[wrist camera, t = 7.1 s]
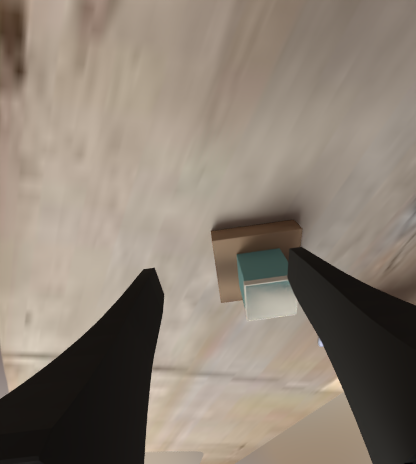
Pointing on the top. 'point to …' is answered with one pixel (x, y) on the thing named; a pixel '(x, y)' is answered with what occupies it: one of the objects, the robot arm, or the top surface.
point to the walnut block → (249, 250)
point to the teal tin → (265, 285)
